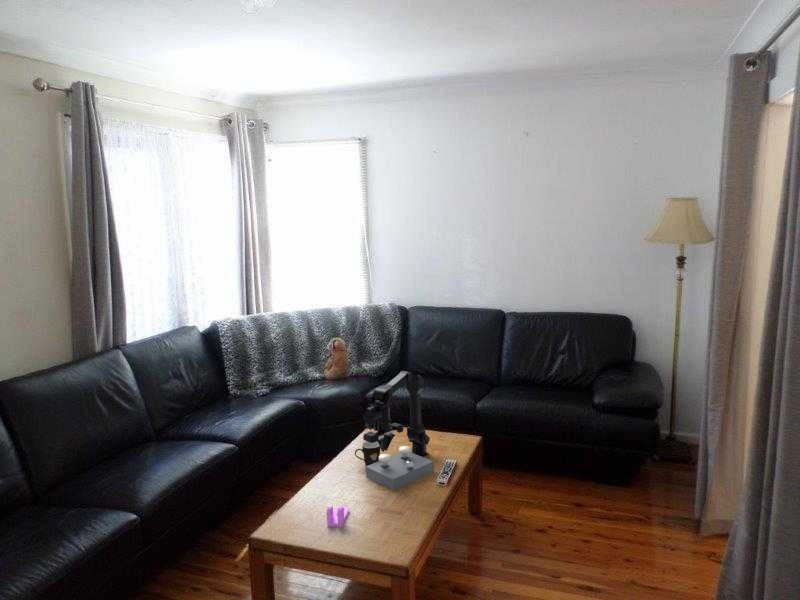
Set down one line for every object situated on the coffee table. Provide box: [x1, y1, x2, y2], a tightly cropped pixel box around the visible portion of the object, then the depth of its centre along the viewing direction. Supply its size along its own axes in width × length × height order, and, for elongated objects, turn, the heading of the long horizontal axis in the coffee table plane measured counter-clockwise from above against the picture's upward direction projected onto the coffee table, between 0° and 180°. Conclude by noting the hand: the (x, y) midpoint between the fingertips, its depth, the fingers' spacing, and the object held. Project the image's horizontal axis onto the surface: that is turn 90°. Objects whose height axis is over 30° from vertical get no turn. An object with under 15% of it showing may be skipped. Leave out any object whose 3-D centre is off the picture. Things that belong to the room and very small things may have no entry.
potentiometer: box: [406, 458, 413, 470], centre depth 253 cm, size 3×3×5 cm
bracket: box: [326, 505, 350, 528], centre depth 224 cm, size 13×6×7 cm, turn 170°
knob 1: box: [379, 453, 392, 467], centre depth 256 cm, size 5×5×4 cm
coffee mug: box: [354, 441, 381, 467], centre depth 270 cm, size 12×9×10 cm
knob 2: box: [398, 445, 411, 458], centre depth 264 cm, size 5×5×4 cm
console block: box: [365, 451, 434, 492], centre depth 259 cm, size 24×18×5 cm
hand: (384, 451), depth 256 cm, fingers closed
